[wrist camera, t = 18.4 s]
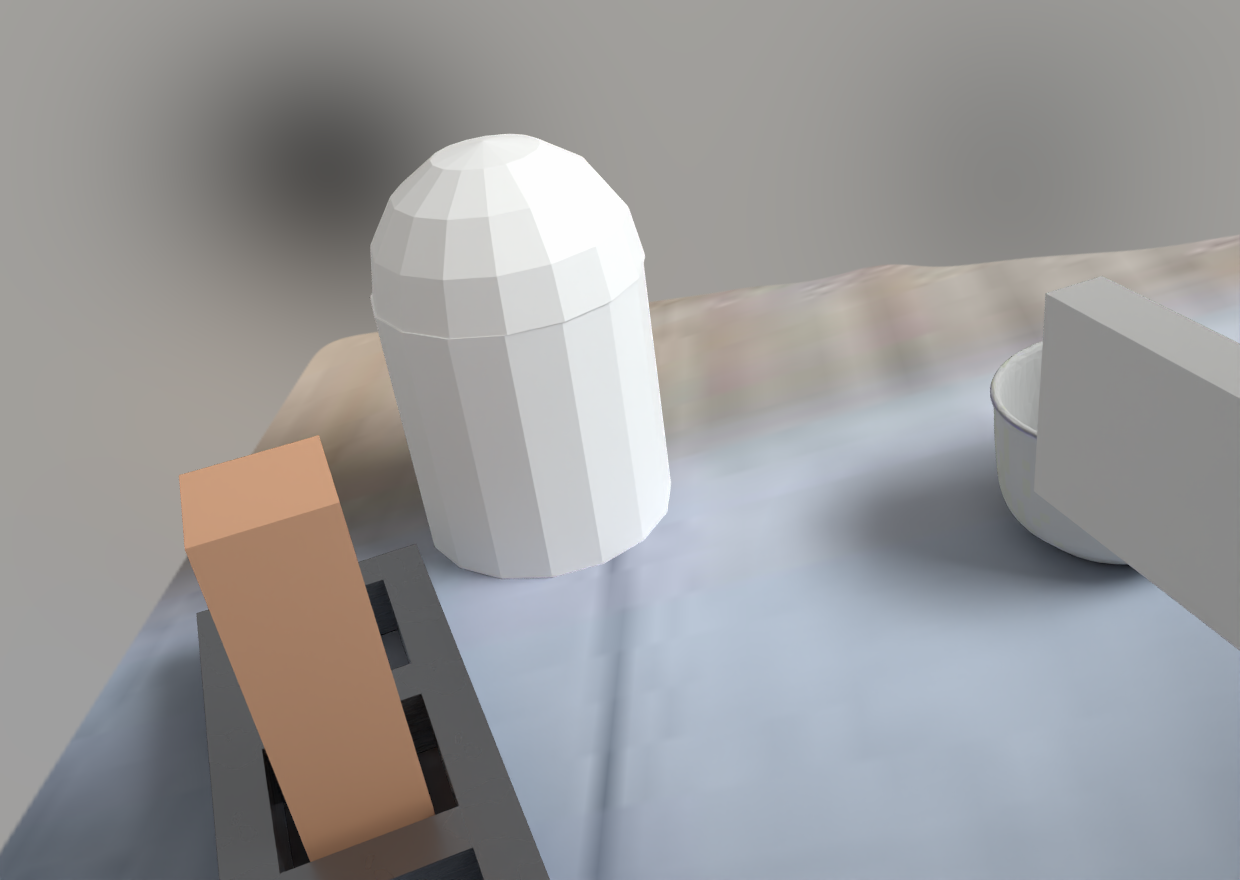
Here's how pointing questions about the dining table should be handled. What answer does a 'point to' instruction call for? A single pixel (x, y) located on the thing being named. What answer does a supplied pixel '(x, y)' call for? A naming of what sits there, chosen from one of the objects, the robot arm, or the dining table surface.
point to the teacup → (1031, 458)
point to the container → (521, 357)
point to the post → (304, 643)
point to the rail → (437, 717)
